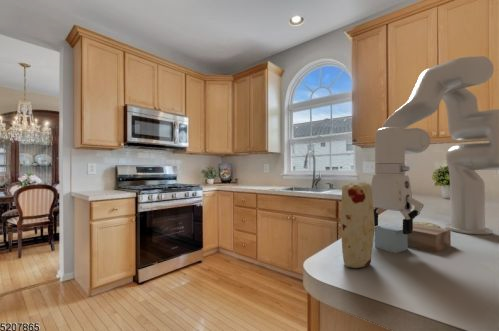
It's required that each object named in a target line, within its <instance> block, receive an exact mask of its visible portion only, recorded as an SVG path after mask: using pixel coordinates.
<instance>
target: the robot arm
mask: <svg viewBox="0 0 499 331" xmlns="http://www.w3.org/2000/svg"><path fill="white" fill-rule="evenodd" d="M494 71H495V70H494V64H493V62H492V60H491V59H490V58H488V57H487V56H485V55H484V56H482V55H481V56H480V55H478V56H464V57H458V58H455V59H451V60H449V61H446V62H443V63H440V64H437V65H434V66H431V67H428V68H427V69H424V70H423V71H422V72H421V73H420V75H419V76H418V79H417V81H416V83H415V85H414V87H413V89H412V91H411V93H410V96H409V97H408V100H407V101H406V102H405V103H404V104H403V105H402V106H400V107H399V108H397V110H395V111H394V112H393V113H392V114H391V115H389V117H388V118H387V119H386V120H385V121H384V123H383V124H382V126H381V128H378V129H376V131H375V133H374V174H373V175H372V178H371V184H370V185H371V189H372V197H373V209H374V223H375V227H377V226H379V212H378V211H379V209H380V210H387V211H394V212H400V213H401V215H402V216H403V217H404V218H403V219H402V227H403V234H410V233H412V230H413V222H414V219H416V217H417V216H419V215H420V214H421V212H422V211H423V208H424V207H425V205H424V203H422V202H421V201H419V200H417V199H415V198H413V197H412V196H413V195H412V186H411V182H410V178H409V175H406V172H409V171H410V170H411V168H410V166H407V165H406V164H405V163H406V162H405V161H406V158H405V156H406V155H414V154H415V155H416V154H419V153H422V152H425V151H426V150H427V149H428V148H429V147H430V144H431V137H430V135H429V133H428V132H427V131H426V130H425V129H423V128H419V127H413V128H408V127H410V126H412V125H414V124H415V123H418V122H420V121H422V120H425V119H427V118H428V117H430V116H432V115H433V114H434V113H436V111H438V108H439V107H440V104H441V101H443V102H444V104H445V108H446V114H447V126H448V134H449V136H450V138H451V139H452V140H455V141H473V140H485V139H487V140H488V142H475V143H464V144H463V143H461V144H456V145H453V146H451V147H449V149H448V150H447V151H446V153H445V160H446V164H447V167H448V173H449V174H448V175H449V202H450V204H449V205H450V223H447V224H445V225H444V226H445V229H449V230H450V231H451V232H455V233H461V234H467V235H477V236H478V235H483V236H485V235H491V234H492V233H493V232H492V229H491V228H489V227H486V201H485V200H486V195H485V194H486V192H485V186H486V185H485V182H484V179H483V178H482V177H481V175H480V174H478V172H477V171H499V109H496V108H495V109H488V110H481V111H479V107H478V106H479V104H478V99H477V97H476V95H475V94H474V93H473V92H472V91H471V90H469V89H467V88H469V87H474V86H478V85H481V84H482V85H483V84H485V83H487V82H488V81H489V80H490V79H491V78H492V76H493V74H494ZM413 206H414V208H413ZM412 209H413V210H412ZM411 210H412V211H411Z"/></svg>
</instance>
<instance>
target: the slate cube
mask: <svg viewBox="0 0 499 331" xmlns="http://www.w3.org/2000/svg"><path fill="white" fill-rule="evenodd" d="M402 227H403V226H396V225H390V224H383V225H378V226H375V230H374V248H375V249H376V248H377V249H381V250H383V251H387V252H389V253H393V254H397V253H401V252H404V251H407V250H408V247H409V246H408V239H407V234H403V228H402Z"/></svg>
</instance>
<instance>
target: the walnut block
mask: <svg viewBox="0 0 499 331" xmlns="http://www.w3.org/2000/svg"><path fill="white" fill-rule="evenodd" d="M401 227H402V228H403V226H401ZM451 232H452V231H451V230H449V229H447V228H442V227H441V228H437V227H431V226H425V225H419V224H413V230H412V233H410V234H407V239H408V247H413V248H418V249H421V250H426V251H430V252H433V253H434V252H435V253H437V252H440V251H442V250H444V249H447V248H448V247H451V246H452V244H451V242H452V241H451V238H452V237H451V235H452V234H451Z"/></svg>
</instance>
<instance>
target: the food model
mask: <svg viewBox="0 0 499 331" xmlns="http://www.w3.org/2000/svg"><path fill="white" fill-rule="evenodd" d="M340 206H341V208H340V209H341V210H340V235H341V248H342V251H341V252H342V259H343V264H344V265H345V267H347V268H352V269H357V268H358V269H359V268H364V267H367V266H369V265H370V264H372V263H371V262H372V254H373V246H374V240H375V227H376V226H375V223H374V209H373V197H372V189H371V184H370V183H368V182H366V181H360V182H357V183H356V182H354V183H353V182H349V183H347V184H343V185H342V187H341V205H340Z"/></svg>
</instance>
